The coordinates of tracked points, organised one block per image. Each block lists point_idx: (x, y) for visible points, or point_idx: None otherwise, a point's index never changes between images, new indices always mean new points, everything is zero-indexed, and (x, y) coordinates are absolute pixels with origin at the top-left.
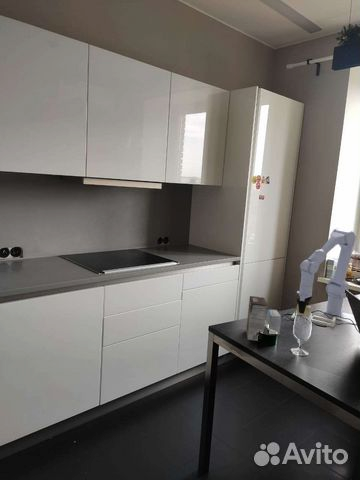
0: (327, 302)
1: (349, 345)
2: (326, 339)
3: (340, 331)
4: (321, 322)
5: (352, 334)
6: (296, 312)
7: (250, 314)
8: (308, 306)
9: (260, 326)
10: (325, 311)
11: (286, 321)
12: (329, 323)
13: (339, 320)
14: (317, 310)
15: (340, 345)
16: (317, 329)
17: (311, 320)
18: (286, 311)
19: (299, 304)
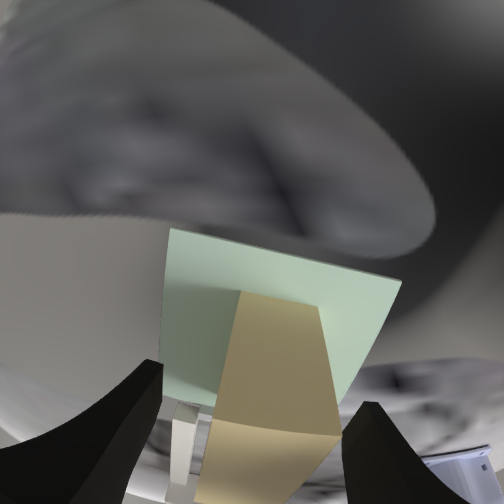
0: (466, 498)
1: None
2: (5, 393)
3: (141, 478)
4: (172, 454)
5: (145, 495)
6: (235, 321)
7: None
8: (230, 501)
9: None
10: (430, 462)
11: (40, 186)
12: (177, 479)
13: (311, 500)
14: (462, 425)
15: (8, 418)
16: (70, 400)
17: (175, 412)
18: (389, 172)
19: (54, 448)
